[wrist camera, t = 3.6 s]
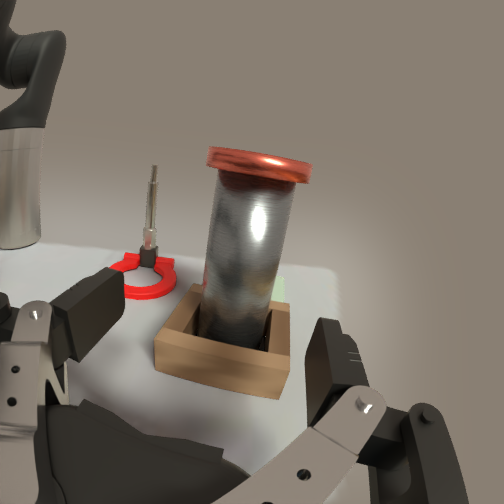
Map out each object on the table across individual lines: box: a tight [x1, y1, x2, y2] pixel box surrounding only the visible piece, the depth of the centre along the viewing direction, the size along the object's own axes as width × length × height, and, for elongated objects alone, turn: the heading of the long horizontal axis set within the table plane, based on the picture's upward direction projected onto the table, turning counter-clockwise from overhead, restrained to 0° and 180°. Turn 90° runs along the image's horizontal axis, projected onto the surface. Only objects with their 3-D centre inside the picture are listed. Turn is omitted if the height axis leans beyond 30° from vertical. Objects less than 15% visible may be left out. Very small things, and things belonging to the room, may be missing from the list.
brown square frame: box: [154, 283, 290, 400], centre depth 21 cm, size 9×9×3 cm
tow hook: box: [109, 164, 176, 300], centre depth 28 cm, size 8×13×9 cm
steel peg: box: [198, 146, 313, 350], centre depth 19 cm, size 7×7×15 cm
